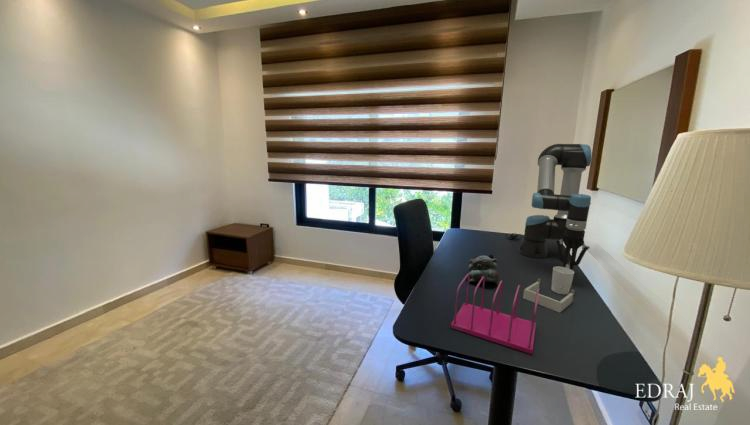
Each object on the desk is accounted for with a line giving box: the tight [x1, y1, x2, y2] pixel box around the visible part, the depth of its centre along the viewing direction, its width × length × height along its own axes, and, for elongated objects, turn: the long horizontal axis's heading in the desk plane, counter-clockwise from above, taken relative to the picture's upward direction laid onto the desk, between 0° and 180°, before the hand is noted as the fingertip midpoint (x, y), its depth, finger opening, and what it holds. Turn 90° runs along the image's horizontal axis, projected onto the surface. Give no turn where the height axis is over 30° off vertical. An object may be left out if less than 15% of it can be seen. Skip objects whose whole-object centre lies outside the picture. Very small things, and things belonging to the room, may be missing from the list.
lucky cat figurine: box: [466, 254, 500, 283], centre depth 139 cm, size 15×12×14 cm
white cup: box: [550, 266, 575, 296], centre depth 130 cm, size 8×8×10 cm
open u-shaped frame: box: [522, 278, 576, 313], centre depth 122 cm, size 14×14×5 cm
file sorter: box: [450, 273, 540, 355], centre depth 101 cm, size 17×25×16 cm
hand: (566, 277), depth 138 cm, fingers closed
